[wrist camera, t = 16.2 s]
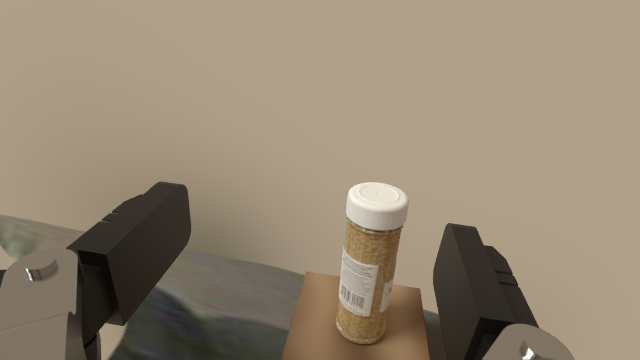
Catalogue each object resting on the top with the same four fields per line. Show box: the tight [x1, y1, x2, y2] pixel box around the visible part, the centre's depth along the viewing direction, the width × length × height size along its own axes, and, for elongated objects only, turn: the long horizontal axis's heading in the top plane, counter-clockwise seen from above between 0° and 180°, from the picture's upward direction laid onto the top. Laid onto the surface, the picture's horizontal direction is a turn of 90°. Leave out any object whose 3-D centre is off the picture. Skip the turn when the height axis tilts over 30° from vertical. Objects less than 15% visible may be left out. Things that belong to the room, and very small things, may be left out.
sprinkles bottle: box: [336, 182, 409, 344], centre depth 30 cm, size 5×5×13 cm
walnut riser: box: [281, 272, 430, 360], centre depth 35 cm, size 12×12×7 cm
